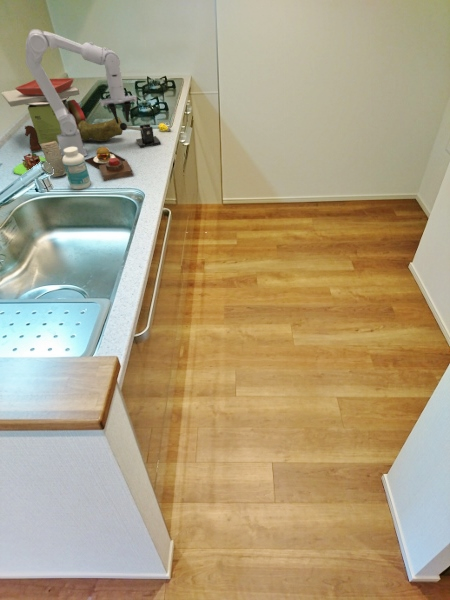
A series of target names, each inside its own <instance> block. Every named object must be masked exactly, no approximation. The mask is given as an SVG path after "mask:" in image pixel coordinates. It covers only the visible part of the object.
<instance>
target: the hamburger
mask: <svg viewBox="0 0 450 600" xmlns="http://www.w3.org/2000/svg"><path fill="white" fill-rule="evenodd" d="M111 158H118V160H121V161H126V159H125V158H124V157H122V156H119V154H115V153H114V152H112V151H110V149H109V148H107V147H105V146H100V147H98V148H97V149H96V155H95V156H92V157H89V158H86V159H85V163H86V164H89V165H91V166H92V167H93V168H96V169H97V170H99V171H100V169H99V165H104V164H106V162H108V161H109V159H111Z"/></svg>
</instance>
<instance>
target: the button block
mask: <svg viewBox="0 0 450 600" xmlns="http://www.w3.org/2000/svg"><path fill="white" fill-rule="evenodd" d="M99 169H100V170H99ZM99 169H98V170H99V172H100V174H101V178H102V179H103V182H107V181H112V180H117V179H118V180H119V179H123V178H127V177H133V176H134V172H133V169H132V167H131V166H130V164H129V162H128V160H125V161H121V160H119V164H118V165H114V166H111V165H109V161H108V162H106V164H104V165H99Z"/></svg>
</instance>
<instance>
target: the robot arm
mask: <svg viewBox="0 0 450 600" xmlns="http://www.w3.org/2000/svg"><path fill="white" fill-rule="evenodd" d="M48 47H49V51H52V50H54V49H57V48H59V49H62V50H66V51H69V52H72V53H75V54H79V55H81V57H82V59H83V60H84V61H87V62H90V63H93V64H96V65H99V66H104V67H105V68H104V69H105V77H106V82H107V87H108V91H109V96H110V97H108V98H104V99H99V103H100V106H101V107H105V106H107V107H108V108H109V110H110V112H111V113H112V115H113V118H115V120H116V123H117V124H118V123H119V122H118V118H117V117H118V113H117V107H116V105H118V104H119V105H120V104H123V108H124V115H125V116H124V117H125V121H126V122H127V123H129V122H130V112H131V108H132V102H135V103H136V102H138V97H137V95H135V94H133V95H126V94H125V88H124V82H123V77H122V72H121V67H120V65H121V60H120V59H119V56H118V54H117V53H116V52H115V51H113V50H111V48H107V47H105V46H103V47H101V46H98V45H95V43H94V42H93V41H89V42H87V41H85V42H84V43H83V44H82V43H79V42H76V41H74V40H71V39H68V38H66V37H64V36H61V35H59V34H56V33H53V32H50V31H46V30H40V29H38V28H33V29H31V30H29V32H28V34H27V37H26V39H25V65H26V67H27V68H28V70H29V72H30V73H31V75H32V77H33V80H36V82H37V84H38V85H39V87H40V89H41V90H42V92H43V94H44V95H45V97H46V99H47V101H48V102H49V104H50V106H51V107H52V109H53V111H54V113H55V115H56V117H57V119H58V121H59V123H60V129H61V134H60V135H57V139H58V142H57V143H58V146H59V149H60V151H61V155H62V157H64V156H65V154H64V149H65V148H67V147H77V149H78V153H80V154H82V155H83V156H84V157H87V156H88V153H87V151H86V149H85V146H84V143H83V139H81V135H80V132H79V130H78V129H77V125H76V120H75V118H74V116H73V115H72V114H70V113H69V112H68V110H67V108H66V107H65V106H64V104H63V102H62V100H61V99H60V97H59V95H58V93H57V92H56V90H55V88H54V86H53V85H52V83H51V81H50V79H51V78H49V76H48V74H47V72H46V70H45V69H44V67H43V65H42V61H43V56H44V55H45V54H46V52H47V51H48Z"/></svg>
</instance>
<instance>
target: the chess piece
mask: <svg viewBox="0 0 450 600" xmlns="http://www.w3.org/2000/svg"><path fill="white" fill-rule="evenodd" d="M24 129H25V133H24V135H25V137H29V139H28V140H29V147H30V148H29V149H30V152H31V153H35V152H39V151H42V148H41V144H39V141H38V136H37V132H36V130H35V128H34V126H33V125H25V126H24Z"/></svg>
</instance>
